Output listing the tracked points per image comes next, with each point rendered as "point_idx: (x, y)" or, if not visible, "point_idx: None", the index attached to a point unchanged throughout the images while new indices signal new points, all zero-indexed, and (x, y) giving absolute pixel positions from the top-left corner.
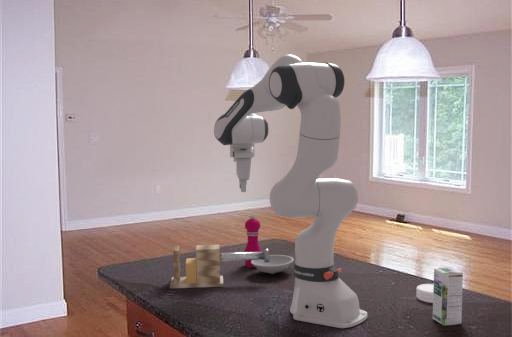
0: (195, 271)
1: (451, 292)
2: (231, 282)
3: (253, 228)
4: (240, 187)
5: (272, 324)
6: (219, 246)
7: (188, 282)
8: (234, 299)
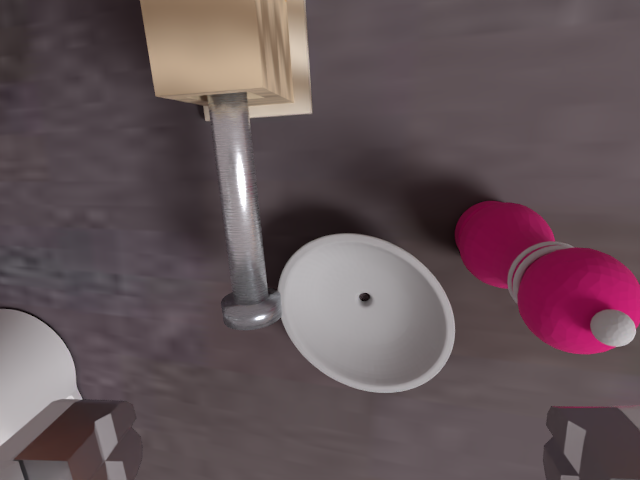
0: None
1: None
2: (259, 149)
3: (518, 298)
4: (562, 429)
5: None
6: (216, 91)
7: None
8: (83, 164)
